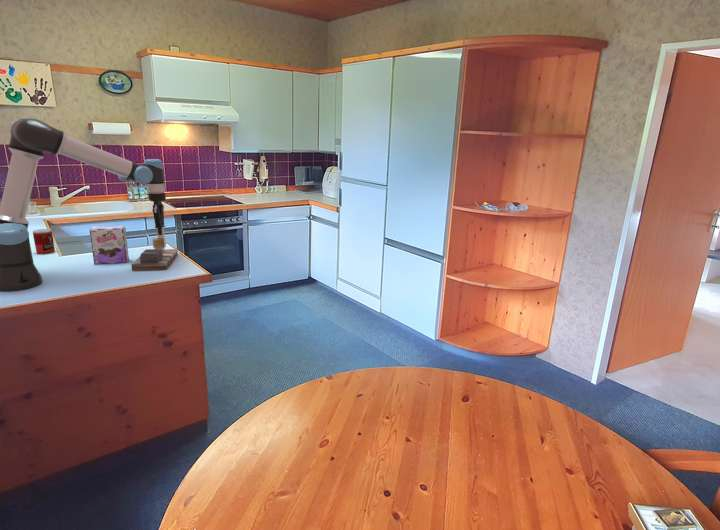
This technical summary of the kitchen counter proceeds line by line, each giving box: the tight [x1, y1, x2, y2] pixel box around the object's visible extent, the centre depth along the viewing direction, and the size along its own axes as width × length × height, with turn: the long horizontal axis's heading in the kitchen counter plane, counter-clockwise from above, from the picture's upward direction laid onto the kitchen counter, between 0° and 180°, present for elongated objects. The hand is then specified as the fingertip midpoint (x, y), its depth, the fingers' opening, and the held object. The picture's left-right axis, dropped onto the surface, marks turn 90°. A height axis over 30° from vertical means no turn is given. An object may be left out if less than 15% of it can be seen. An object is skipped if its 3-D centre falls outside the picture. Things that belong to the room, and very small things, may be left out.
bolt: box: [152, 237, 167, 252], centre depth 216 cm, size 10×5×6 cm, turn 11°
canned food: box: [32, 228, 56, 255], centre depth 223 cm, size 8×8×11 cm
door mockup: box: [131, 248, 179, 272], centre depth 211 cm, size 26×14×7 cm, turn 11°
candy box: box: [89, 225, 130, 265], centre depth 209 cm, size 14×6×16 cm, turn 105°
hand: (161, 240), depth 223 cm, fingers closed
